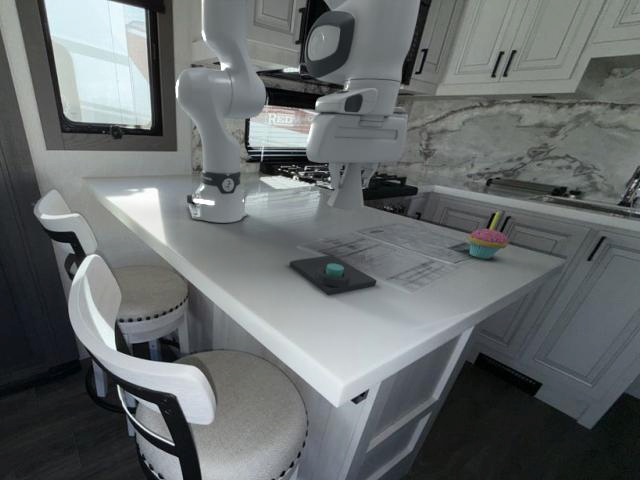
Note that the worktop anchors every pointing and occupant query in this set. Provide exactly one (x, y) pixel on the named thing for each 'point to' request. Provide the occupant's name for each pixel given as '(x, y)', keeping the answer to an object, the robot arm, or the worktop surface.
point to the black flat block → (330, 285)
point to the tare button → (334, 270)
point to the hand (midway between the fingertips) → (348, 187)
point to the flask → (349, 190)
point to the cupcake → (487, 241)
